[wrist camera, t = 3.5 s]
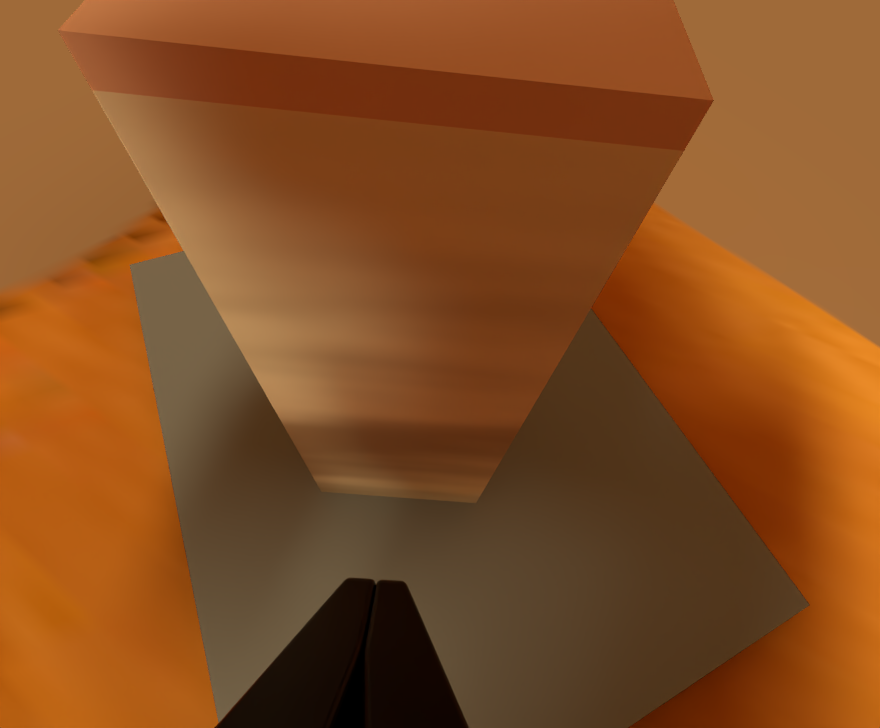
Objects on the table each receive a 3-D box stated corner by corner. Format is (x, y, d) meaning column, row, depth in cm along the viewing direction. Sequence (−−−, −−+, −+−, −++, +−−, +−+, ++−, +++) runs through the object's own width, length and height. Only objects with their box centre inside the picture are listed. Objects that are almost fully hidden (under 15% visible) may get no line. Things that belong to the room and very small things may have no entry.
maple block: (475, 503, 14) (712, 101, 3) (321, 491, 14) (57, 30, 3) (478, 368, 16) (623, -123, 6) (345, 357, 16) (238, -171, 5)
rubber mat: (274, 952, 10) (267, 970, 9) (137, 275, 18) (129, 264, 17) (793, 606, 14) (809, 604, 13) (488, 183, 22) (491, 172, 21)
